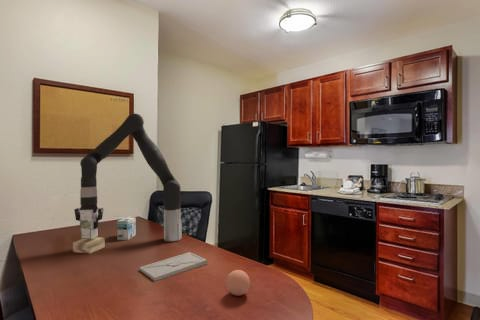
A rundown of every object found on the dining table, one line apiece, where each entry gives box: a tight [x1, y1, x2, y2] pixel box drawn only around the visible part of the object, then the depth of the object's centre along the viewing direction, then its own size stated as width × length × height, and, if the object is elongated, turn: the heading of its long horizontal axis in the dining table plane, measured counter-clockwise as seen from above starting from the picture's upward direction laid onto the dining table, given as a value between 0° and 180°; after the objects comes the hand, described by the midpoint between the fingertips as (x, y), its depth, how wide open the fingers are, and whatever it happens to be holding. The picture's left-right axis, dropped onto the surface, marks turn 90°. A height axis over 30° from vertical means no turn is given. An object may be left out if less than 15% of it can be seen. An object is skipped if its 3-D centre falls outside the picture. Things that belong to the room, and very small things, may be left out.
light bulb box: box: [116, 216, 137, 241], centre depth 158 cm, size 11×7×11 cm, turn 179°
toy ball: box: [225, 269, 251, 297], centre depth 91 cm, size 8×8×8 cm
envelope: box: [139, 251, 208, 282], centre depth 115 cm, size 24×2×14 cm
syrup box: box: [80, 210, 99, 240], centre depth 138 cm, size 6×6×14 cm
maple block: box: [72, 236, 106, 254], centre depth 138 cm, size 10×10×5 cm
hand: (89, 228), depth 138 cm, fingers closed on syrup box, 6 cm apart
